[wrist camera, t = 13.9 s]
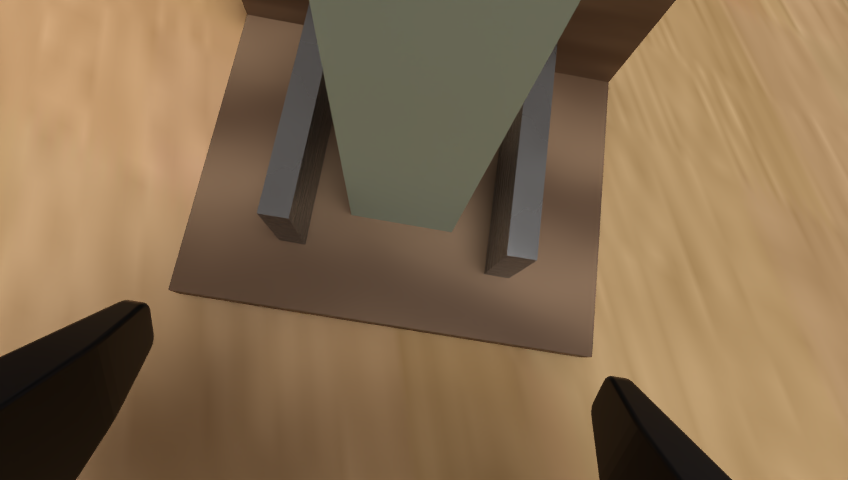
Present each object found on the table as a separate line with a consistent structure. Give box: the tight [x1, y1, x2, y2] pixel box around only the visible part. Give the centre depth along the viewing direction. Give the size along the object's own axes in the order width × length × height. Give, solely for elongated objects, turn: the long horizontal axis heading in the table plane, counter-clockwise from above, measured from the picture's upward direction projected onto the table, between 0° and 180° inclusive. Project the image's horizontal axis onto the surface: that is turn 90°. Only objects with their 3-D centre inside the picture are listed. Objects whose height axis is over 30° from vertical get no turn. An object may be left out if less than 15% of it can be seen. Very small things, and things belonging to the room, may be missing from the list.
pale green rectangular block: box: [309, 0, 580, 232], centre depth 14 cm, size 6×4×13 cm, turn 171°
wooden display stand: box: [168, 0, 675, 357], centre depth 17 cm, size 14×16×7 cm
